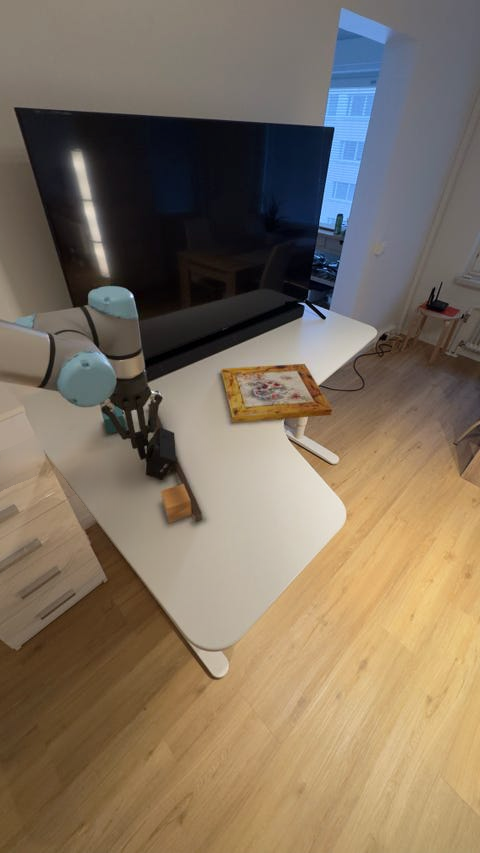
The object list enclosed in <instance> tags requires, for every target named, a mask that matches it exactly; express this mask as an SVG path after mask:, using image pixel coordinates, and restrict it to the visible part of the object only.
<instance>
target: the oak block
mask: <svg viewBox="0 0 480 853" xmlns="http://www.w3.org/2000/svg"><path fill="white" fill-rule="evenodd" d="M160 493H161V499H162V500H161V501H162V505H163V508H164V511H165V514H166V517H167V520H168V522H169V523H173V522H176V521H178V520H181V519H184V518H187V517H190V516H193V515H192V510H191V500H190V498H189V496H188V493H187V491H186V489H185V486H184V484H181V485H180V484H178V485H175V486H171V487H168V488H164V489H161V490H160Z"/></svg>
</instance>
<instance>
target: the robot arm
mask: <svg viewBox="0 0 480 853" xmlns="http://www.w3.org/2000/svg"><path fill="white" fill-rule="evenodd" d="M87 300H88V302H87V304H86V305H82V306H77V307H71V308H66V309H59V310H53V311H47V312H42V313H41V312H40V313H38V312H37V313H33V314H30V315H27V316H22V317H18V318H16V319H14V321H13V322H12V321H8V320H5V319H1V318H0V383H6V384H12V385H18V386H25V387H30V388H36V389H42V390H47V391H52V392H58V393H59V394H60V395H61V397H62V398H64V400H66V401H67V402H68V403H70V404H71V405H74V406H75V407H79V408H92V407H97V406H100V411H101V413H102V412H103V413H104V414H105V415H107V416H108V417H109V418H110V420H111V422H112V423H113V425H114V426H115V428H116V430H117V431H118V432H117V433H118V434H119V436H120V438H121V439H122V440H123V441H125V440H128V439H129V440H130V444H131V447H132V449H133V450H136V449H137V453H138V457H139V460H140V461H143V460H146V446H148V445H149V441H150V440H149V435H150V434H155V432H156V421H157V415H158V416H159V407H160V404H161V403H162V402H163V399H164V398H163V396H162V394H161V392H160V390H151V388H150V386H149V383H148V382H149V381H148V376H147V370H146V362H145V356H144V351H143V346H142V338H141V331H140V323H139V314H138V310H137V305H136V301H135V297H134V294H133V293H132V292H131V291H130V290H128V288H125V287H122V286H115V285H112V286H111V285H106V286H100V287H97V288H94V289H91V290H90V291H89V293H88V295H87ZM149 399H150V402H149V404H150V409H149V408H148V415H147V416H148V418H147V422H146V418H145V409H144V407H145V405H146V404H147V402H148V400H149ZM115 406H117V407H118V408H120V409H121V411H122V412H124V417H125V421H126V422H125V423H126V428H127V429H126V430H125V429H124V427H123V425H122V424H121V422H120V420H119V419H118V417H117V415H116V413H115V412H114V410H113V409H114V408H113V407H115ZM133 411H136V416H137V420H138V421H137V422H138V427H139V431H136V429H135V425H134V420H133V413H132V412H133Z"/></svg>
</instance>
